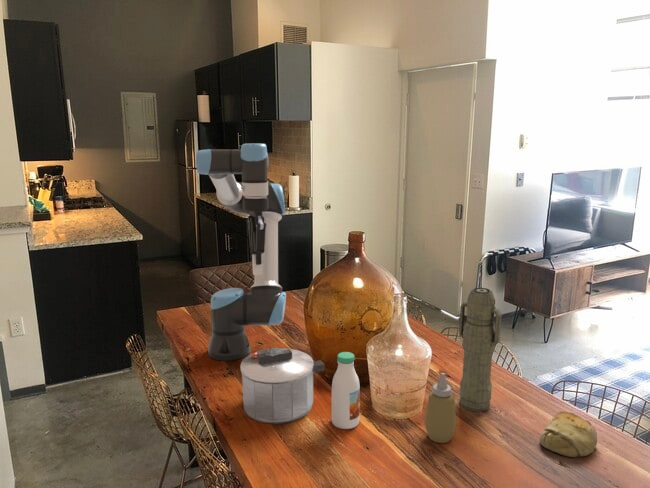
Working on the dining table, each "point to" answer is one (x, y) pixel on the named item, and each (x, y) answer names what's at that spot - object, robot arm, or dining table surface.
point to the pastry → (569, 435)
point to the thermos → (478, 348)
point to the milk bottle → (345, 393)
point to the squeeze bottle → (441, 412)
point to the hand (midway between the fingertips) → (257, 274)
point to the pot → (279, 399)
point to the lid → (276, 366)
